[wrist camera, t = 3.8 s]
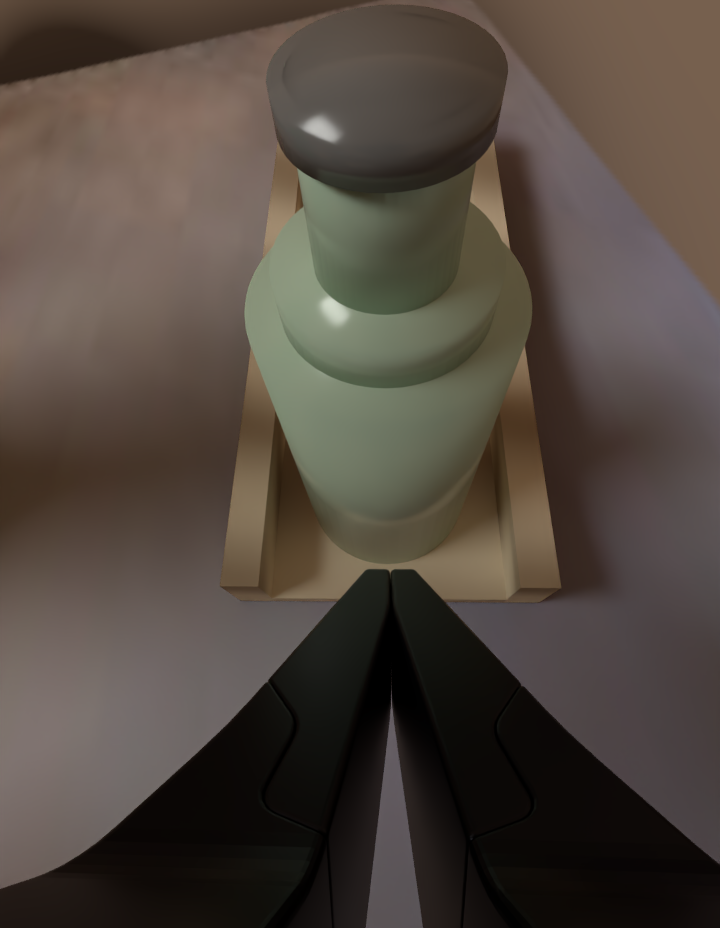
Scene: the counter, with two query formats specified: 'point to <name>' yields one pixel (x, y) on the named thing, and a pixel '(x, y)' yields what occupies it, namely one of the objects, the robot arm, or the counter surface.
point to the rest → (481, 518)
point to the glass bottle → (387, 274)
